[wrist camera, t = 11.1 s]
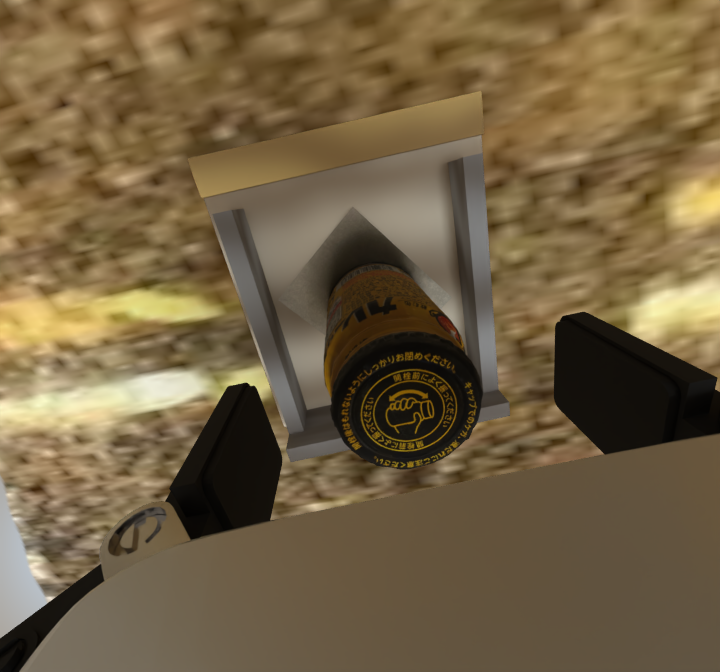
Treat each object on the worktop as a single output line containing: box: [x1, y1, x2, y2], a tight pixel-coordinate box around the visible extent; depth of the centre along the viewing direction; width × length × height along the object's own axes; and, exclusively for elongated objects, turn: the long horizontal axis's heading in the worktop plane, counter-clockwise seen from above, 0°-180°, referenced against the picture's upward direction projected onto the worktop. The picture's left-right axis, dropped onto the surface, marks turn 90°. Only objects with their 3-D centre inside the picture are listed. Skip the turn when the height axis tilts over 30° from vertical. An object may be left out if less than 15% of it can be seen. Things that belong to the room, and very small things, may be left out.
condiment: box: [278, 207, 483, 469], centre depth 17 cm, size 7×8×12 cm
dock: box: [187, 91, 510, 462], centre depth 22 cm, size 18×16×7 cm
